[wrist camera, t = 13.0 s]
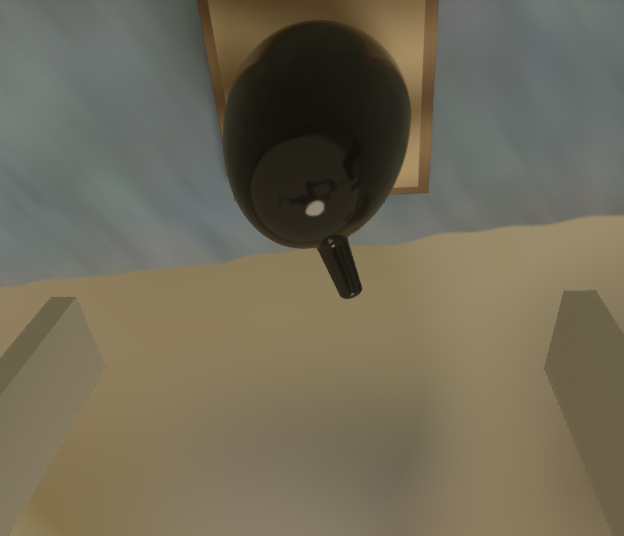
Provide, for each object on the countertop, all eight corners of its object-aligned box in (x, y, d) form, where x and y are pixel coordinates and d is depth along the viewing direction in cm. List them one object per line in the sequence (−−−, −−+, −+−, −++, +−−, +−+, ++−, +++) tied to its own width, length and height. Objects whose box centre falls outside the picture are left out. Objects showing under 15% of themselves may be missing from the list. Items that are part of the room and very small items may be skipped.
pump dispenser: (289, 197, 36) (251, 345, 23) (213, 56, 31) (112, 148, 18) (428, 142, 33) (470, 278, 20) (369, -25, 28) (376, 19, 15)
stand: (204, -21, 31) (190, -16, 29) (435, -42, 29) (442, -39, 27) (240, 186, 39) (232, 204, 36) (424, 178, 37) (429, 196, 35)
